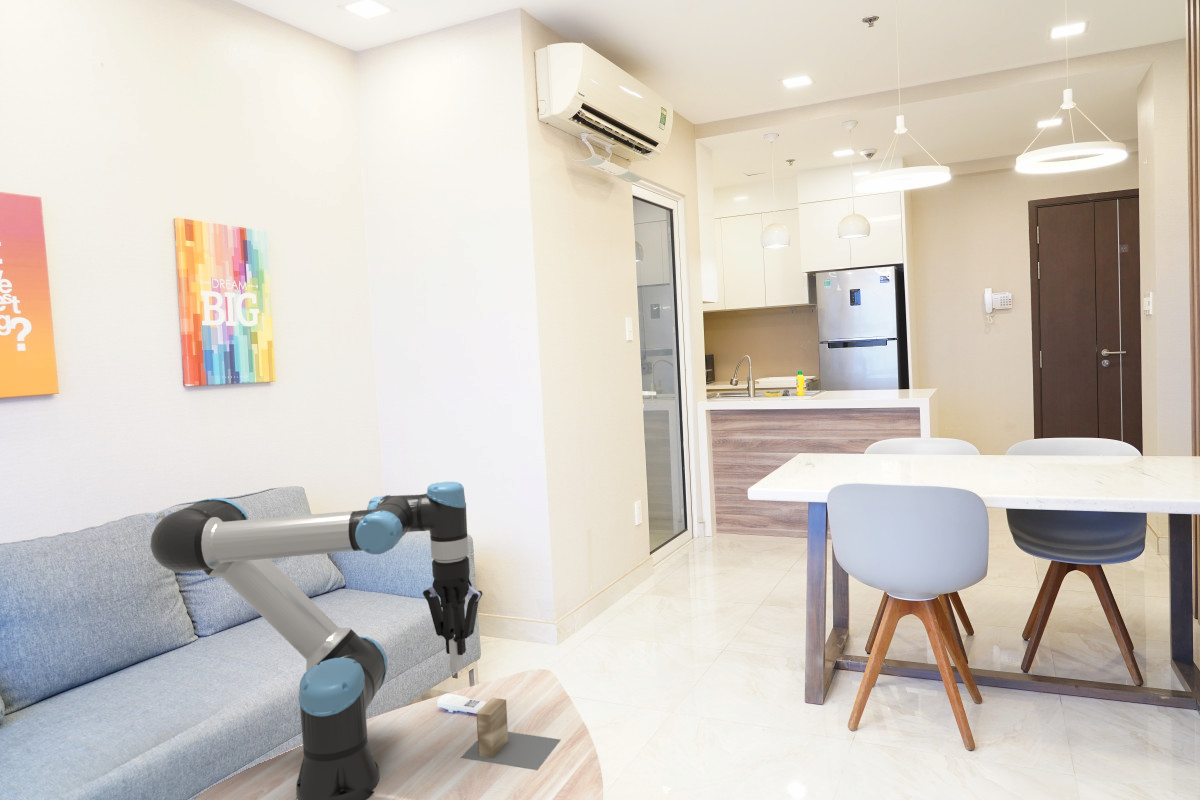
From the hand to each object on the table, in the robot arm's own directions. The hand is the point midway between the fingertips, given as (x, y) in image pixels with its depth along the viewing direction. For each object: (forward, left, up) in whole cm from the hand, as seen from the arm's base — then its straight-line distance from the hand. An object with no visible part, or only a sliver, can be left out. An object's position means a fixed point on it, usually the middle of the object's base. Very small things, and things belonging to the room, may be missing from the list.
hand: (457, 668), depth 161 cm
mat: (+11, +1, -17) cm, 20 cm away
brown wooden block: (+8, 0, -16) cm, 18 cm away
